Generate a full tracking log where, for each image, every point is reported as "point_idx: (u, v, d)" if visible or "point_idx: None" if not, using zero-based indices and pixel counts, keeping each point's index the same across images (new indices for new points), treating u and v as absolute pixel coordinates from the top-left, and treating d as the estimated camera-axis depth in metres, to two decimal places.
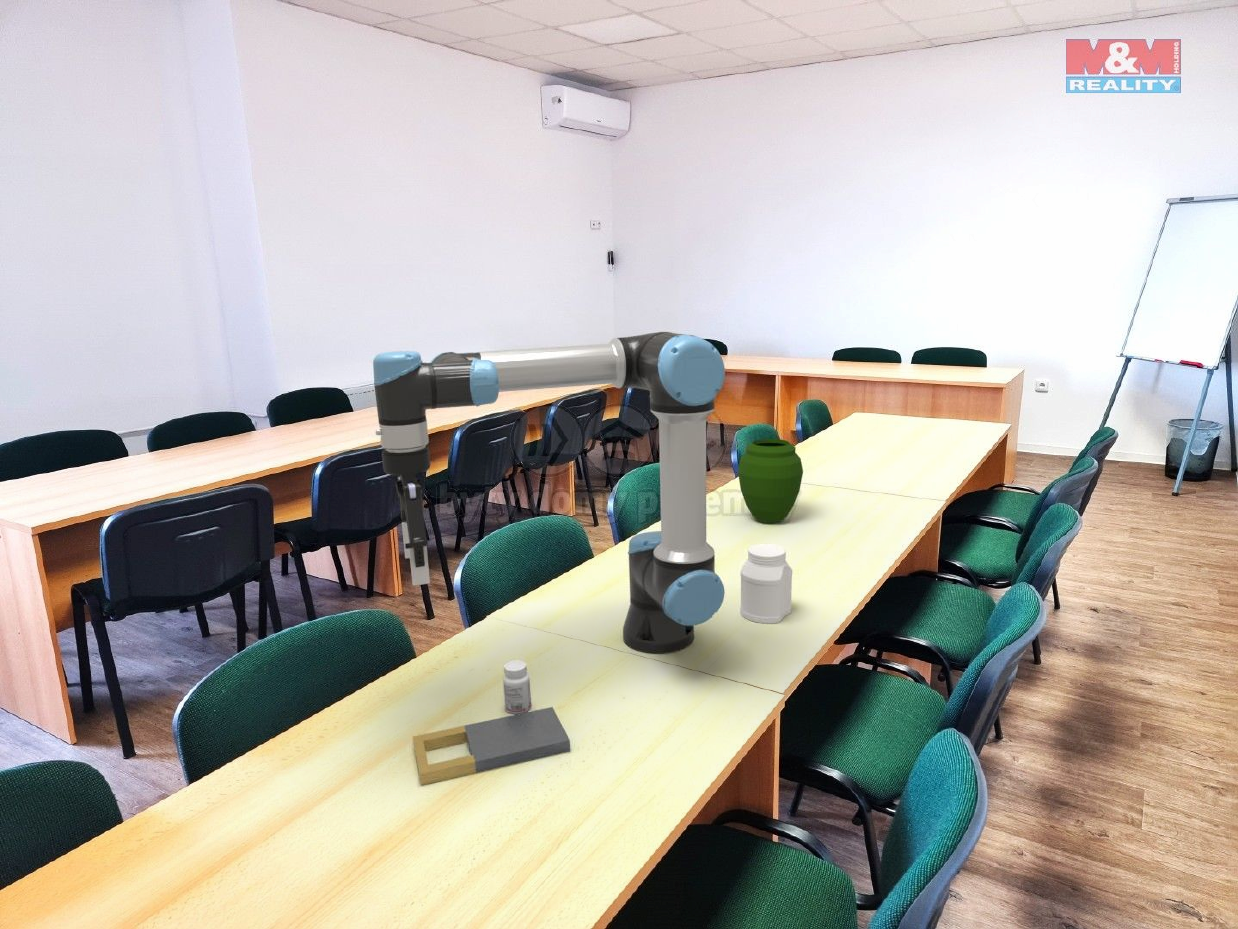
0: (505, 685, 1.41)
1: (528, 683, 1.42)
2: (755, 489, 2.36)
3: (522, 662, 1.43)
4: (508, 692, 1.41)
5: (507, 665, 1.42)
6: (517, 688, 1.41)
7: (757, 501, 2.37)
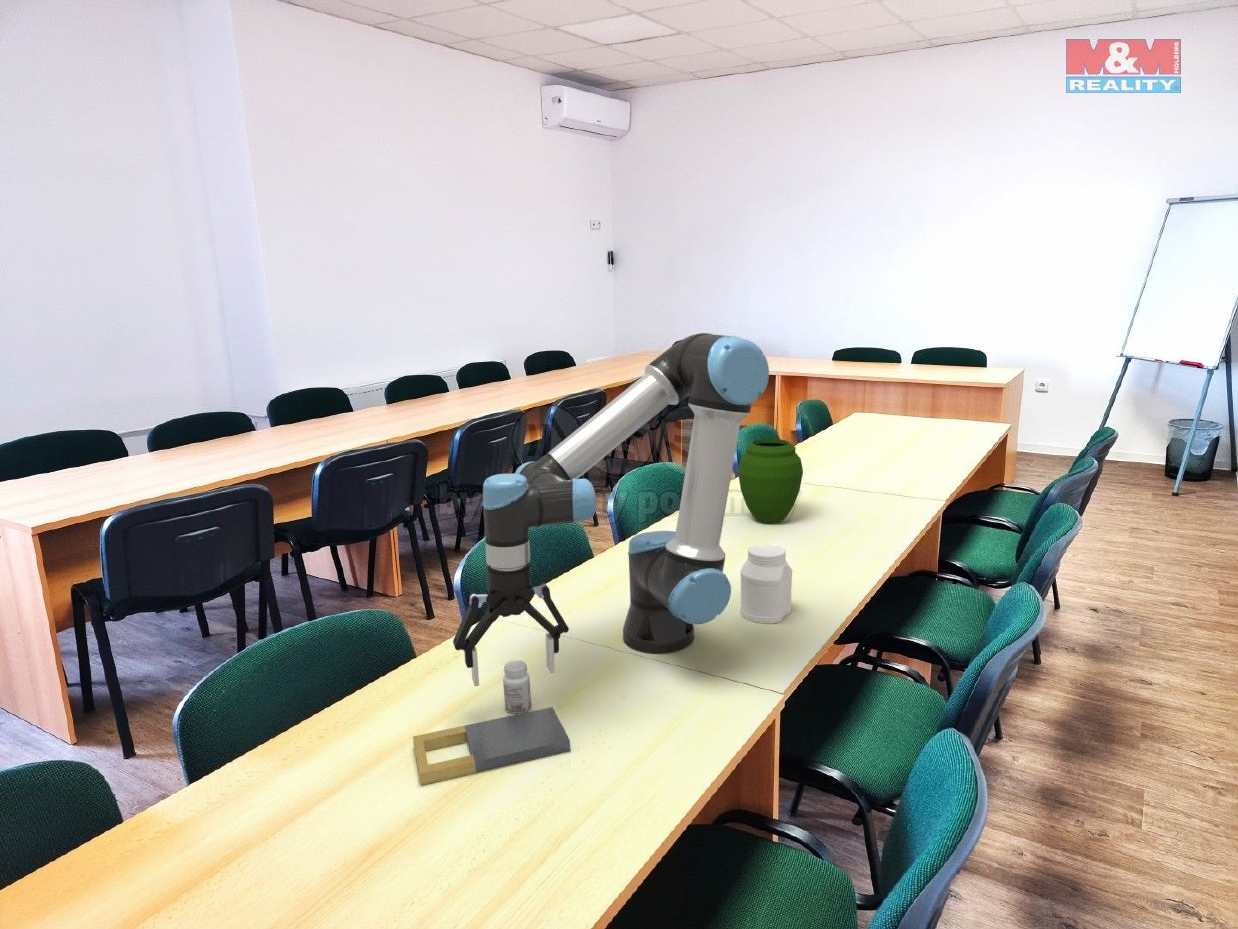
0: (505, 685, 1.41)
1: (528, 683, 1.42)
2: (755, 489, 2.36)
3: (522, 662, 1.43)
4: (508, 692, 1.41)
5: (507, 665, 1.42)
6: (517, 688, 1.41)
7: (757, 501, 2.37)
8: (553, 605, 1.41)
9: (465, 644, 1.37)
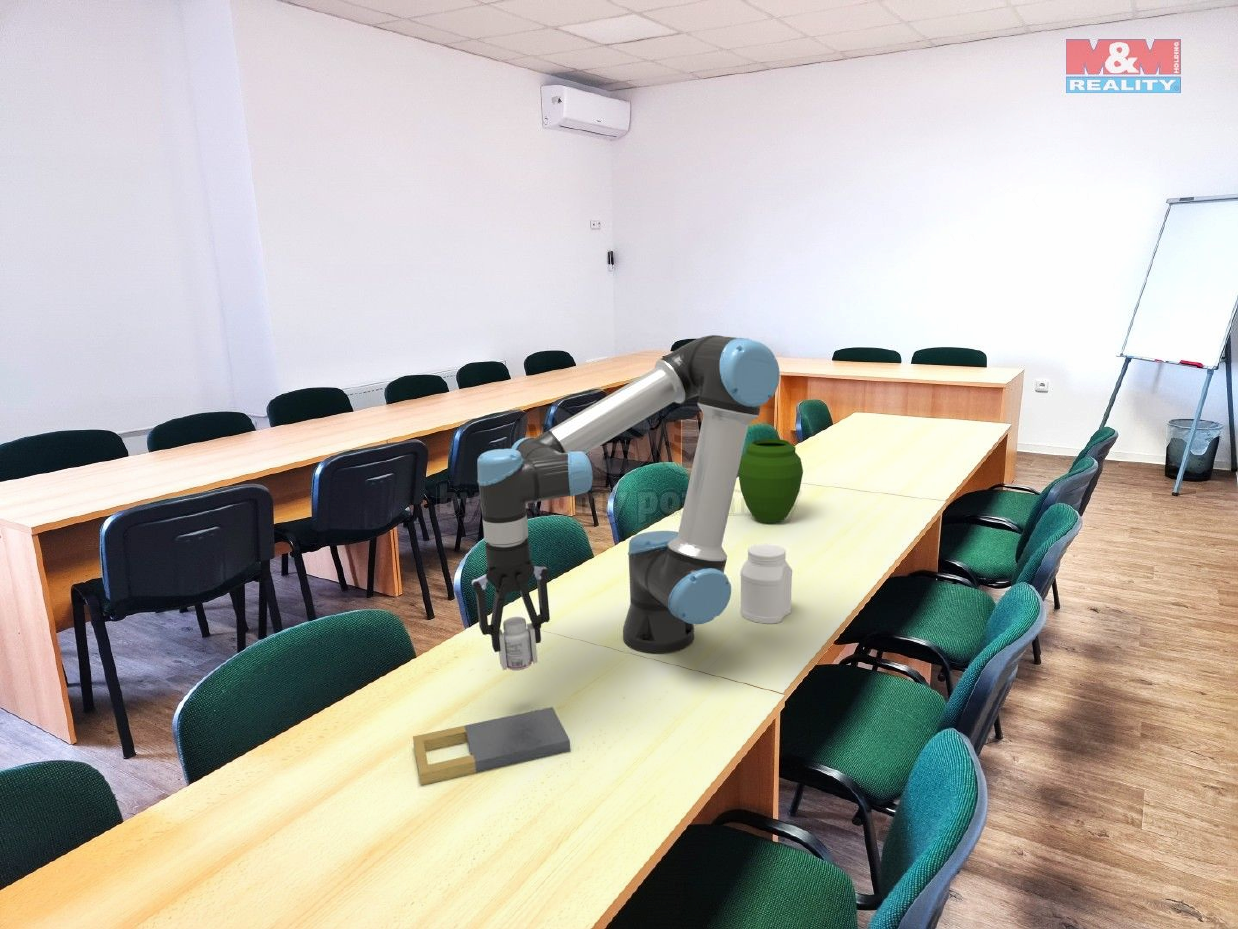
0: (505, 641, 1.40)
1: (528, 639, 1.40)
2: (755, 489, 2.36)
3: (521, 618, 1.41)
4: (508, 649, 1.39)
5: (506, 621, 1.40)
6: (517, 644, 1.39)
7: (757, 501, 2.37)
8: (546, 590, 1.40)
9: (490, 630, 1.38)
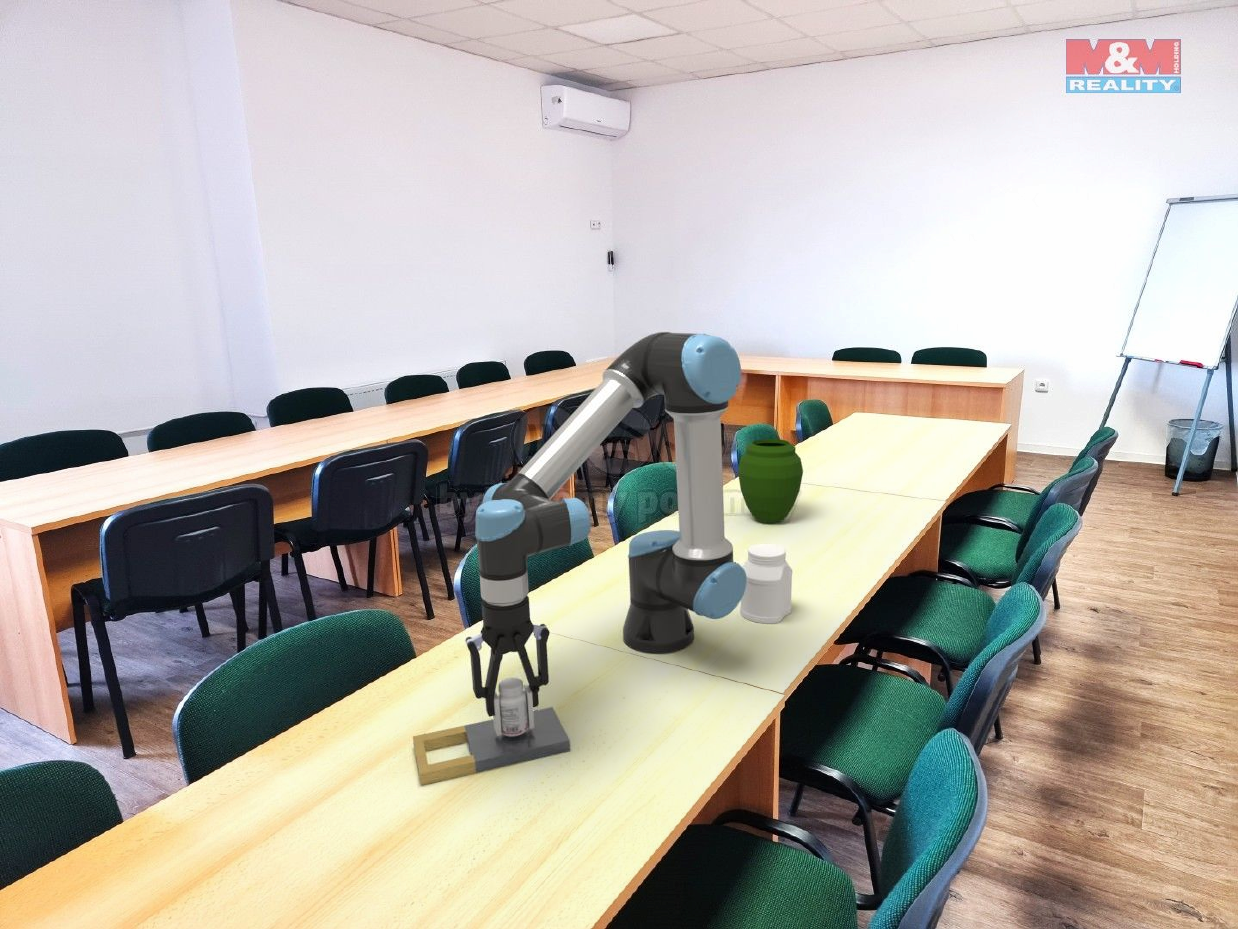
0: (500, 705, 1.30)
1: (525, 703, 1.31)
2: (755, 489, 2.36)
3: (518, 680, 1.31)
4: (503, 713, 1.29)
5: (502, 683, 1.30)
6: (513, 708, 1.29)
7: (757, 501, 2.37)
8: (545, 651, 1.30)
9: (485, 694, 1.28)
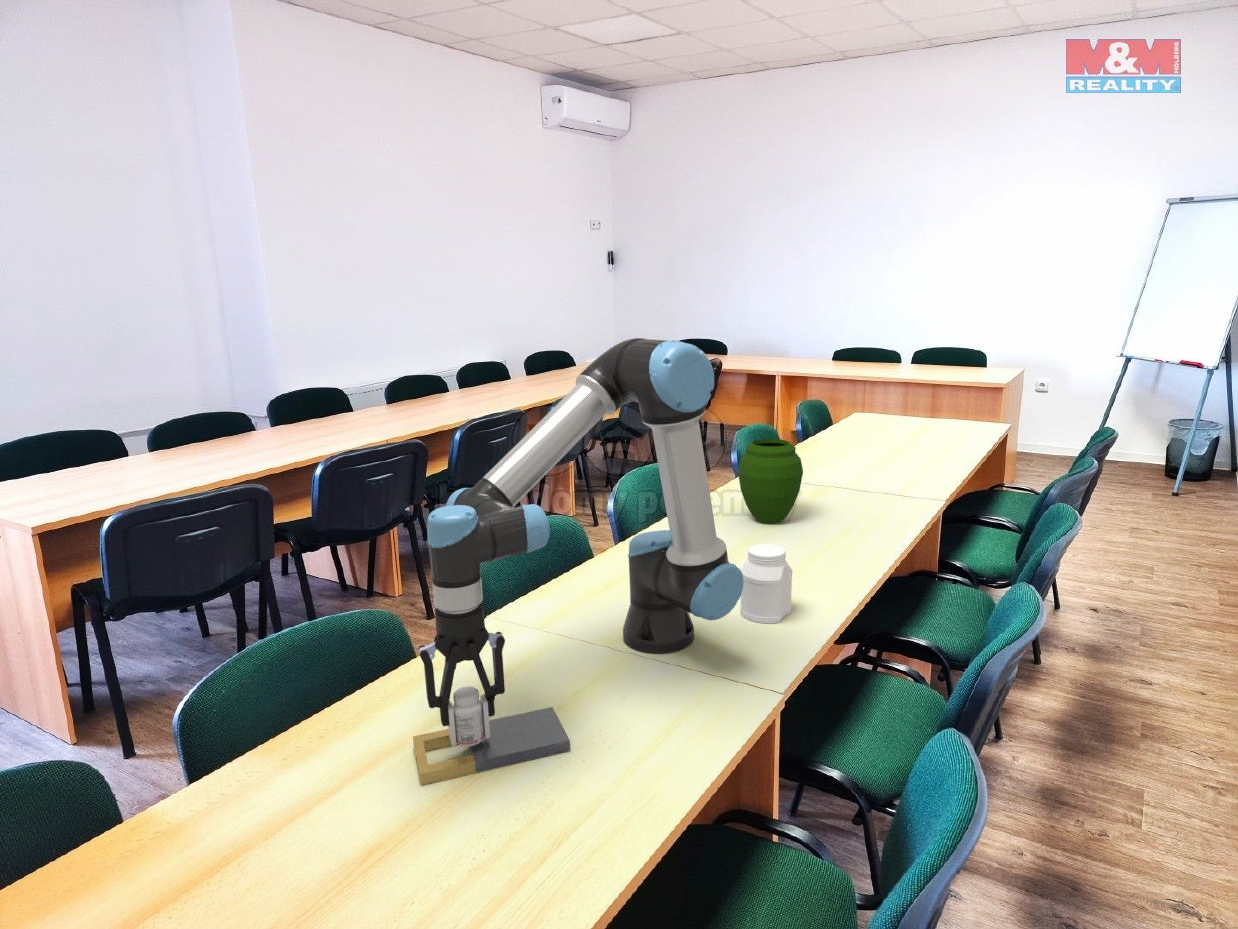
0: (454, 715, 1.27)
1: (480, 712, 1.28)
2: (755, 489, 2.36)
3: (474, 689, 1.29)
4: (458, 723, 1.27)
5: (457, 692, 1.28)
6: (468, 718, 1.27)
7: (757, 501, 2.37)
8: (501, 660, 1.28)
9: (439, 703, 1.26)
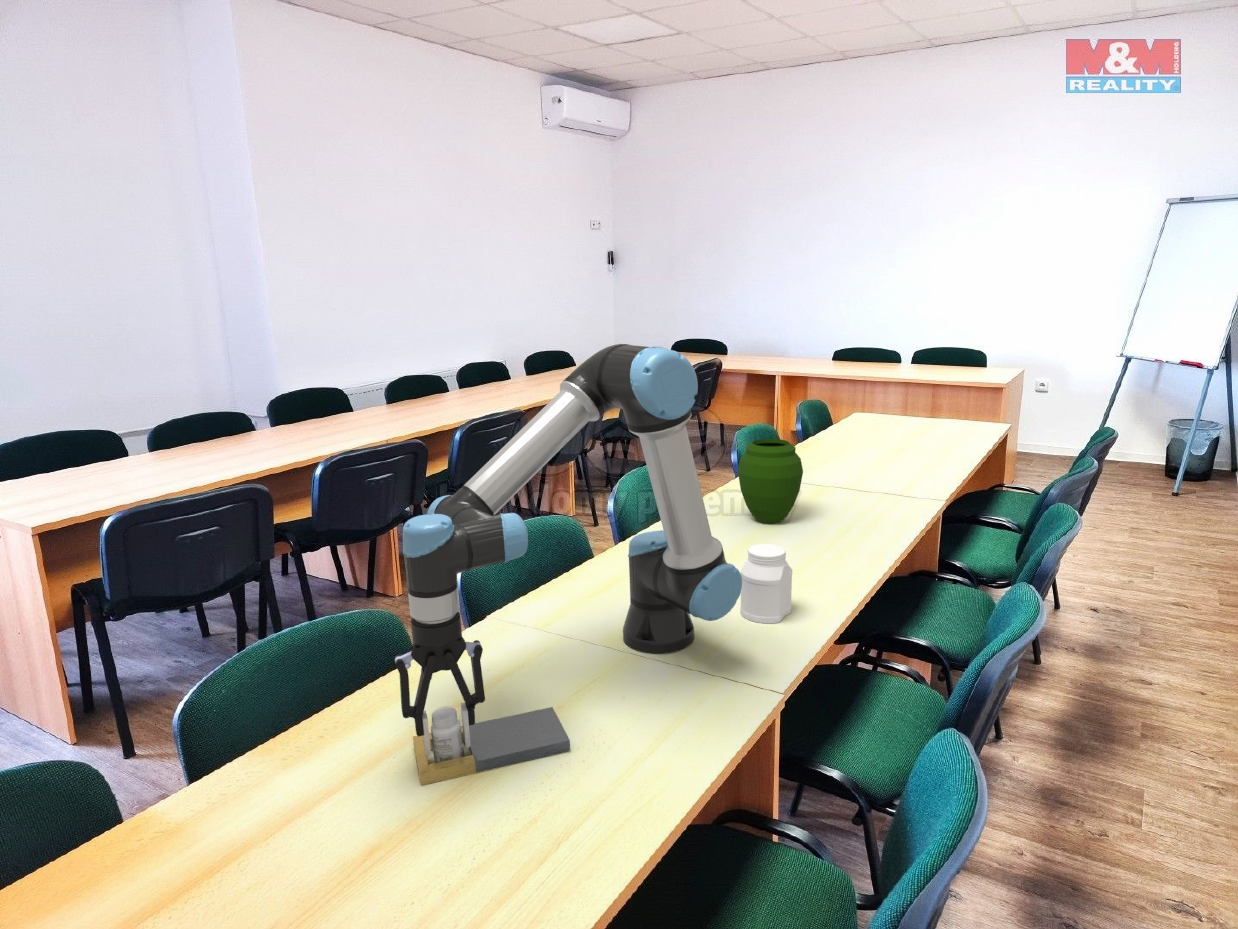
0: (433, 735, 1.27)
1: (459, 732, 1.28)
2: (755, 489, 2.36)
3: (452, 709, 1.28)
4: (436, 744, 1.27)
5: (435, 713, 1.28)
6: (446, 739, 1.26)
7: (757, 501, 2.37)
8: (479, 668, 1.27)
9: (413, 713, 1.25)
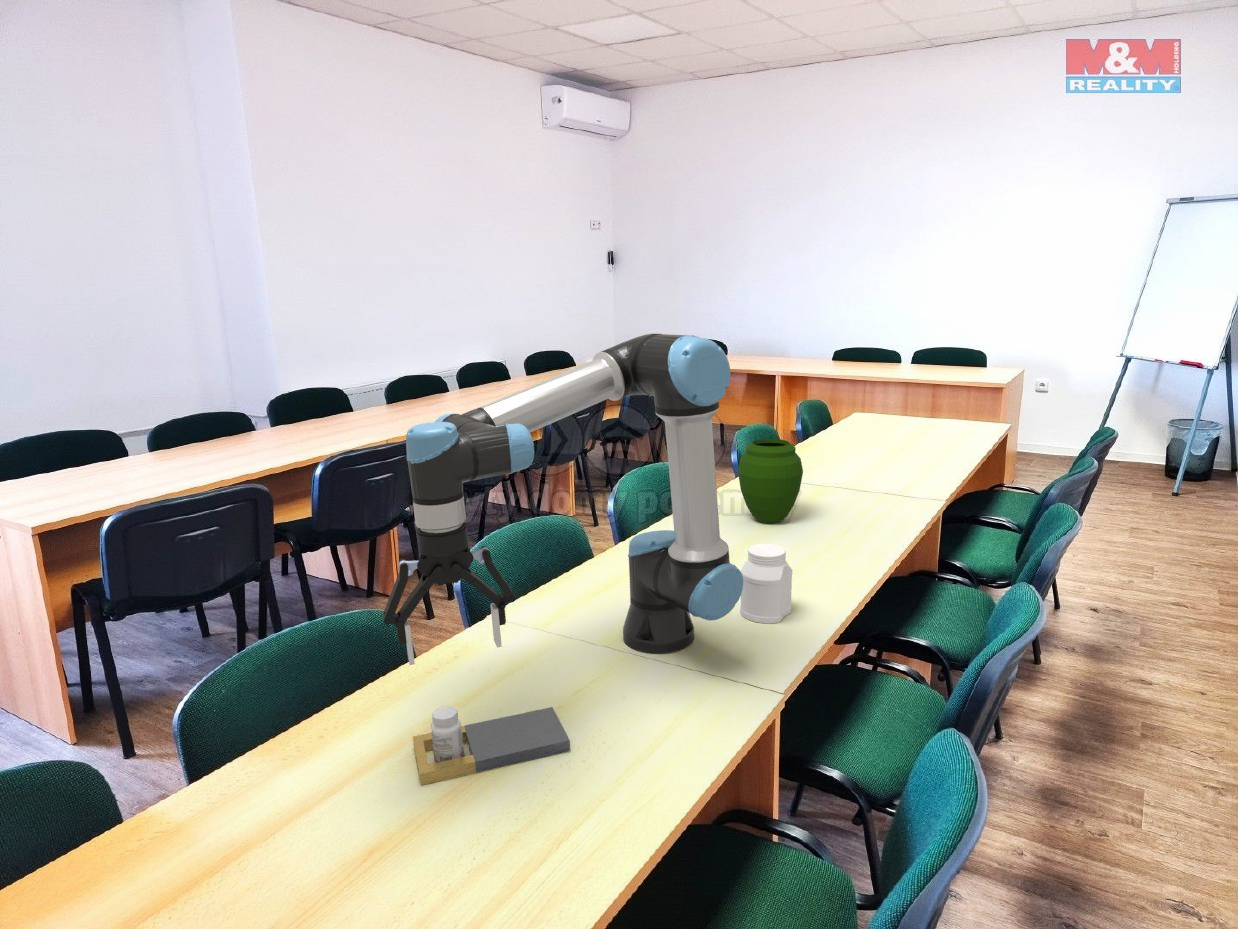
0: (433, 734, 1.27)
1: (459, 732, 1.28)
2: (755, 489, 2.36)
3: (453, 708, 1.28)
4: (436, 743, 1.27)
5: (436, 712, 1.28)
6: (447, 738, 1.26)
7: (757, 501, 2.37)
8: (496, 571, 1.24)
9: (396, 617, 1.21)
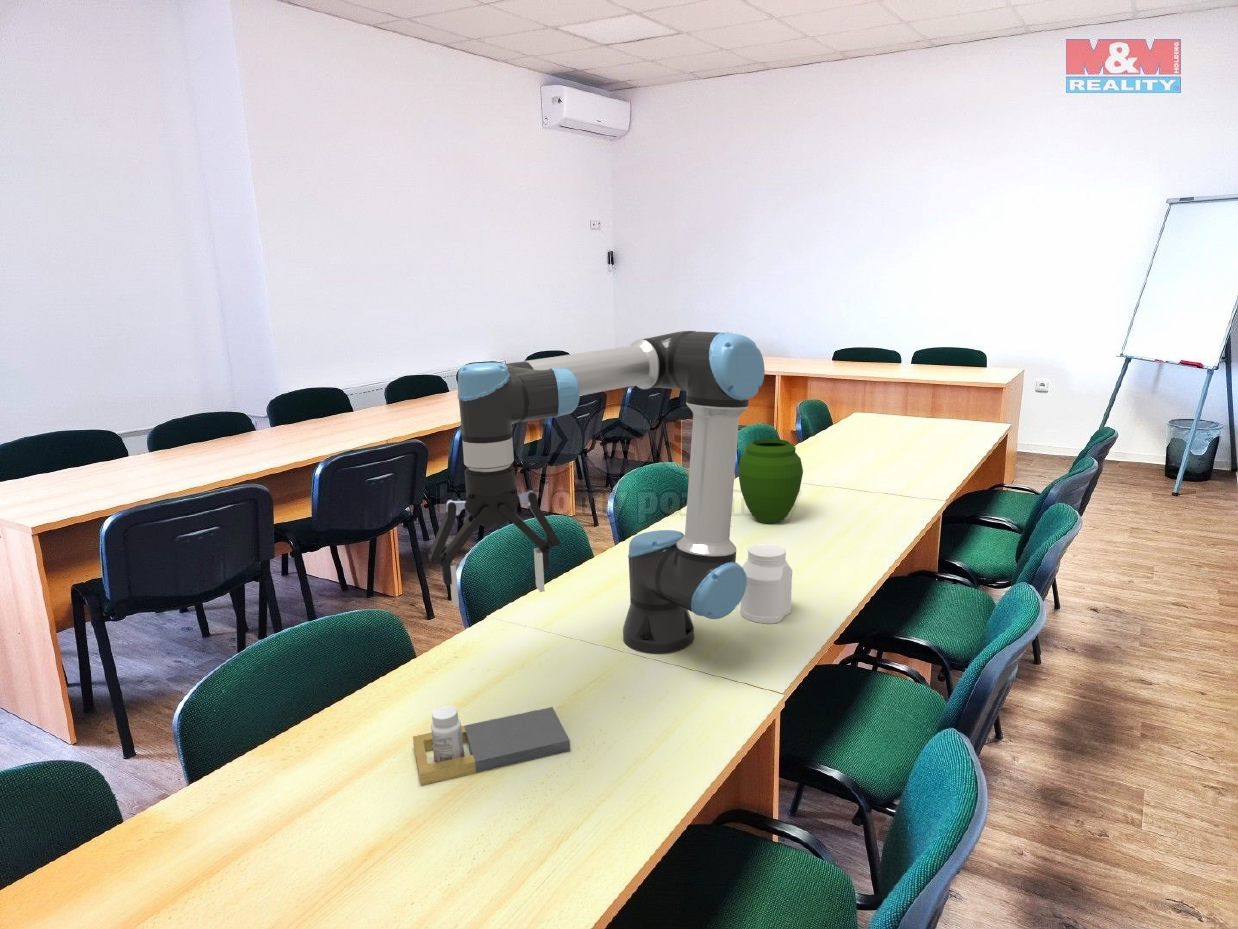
0: (433, 734, 1.27)
1: (459, 732, 1.28)
2: (755, 489, 2.36)
3: (453, 708, 1.29)
4: (436, 743, 1.27)
5: (436, 712, 1.28)
6: (446, 738, 1.26)
7: (757, 501, 2.37)
8: (541, 514, 1.25)
9: (442, 557, 1.21)
